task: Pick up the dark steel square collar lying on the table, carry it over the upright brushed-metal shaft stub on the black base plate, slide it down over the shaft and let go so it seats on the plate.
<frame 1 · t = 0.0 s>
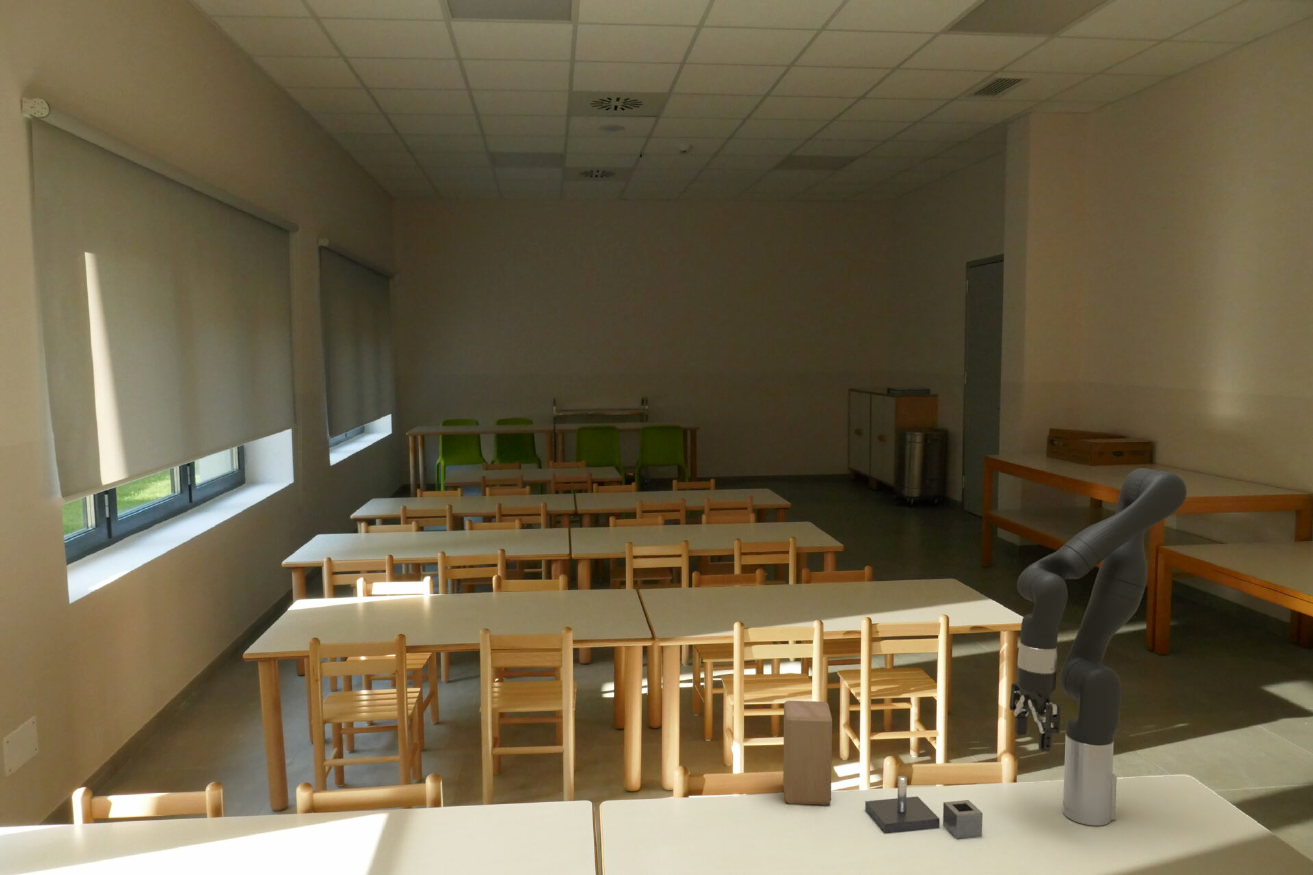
hand: (1032, 742, 194), 17 cm above the table, tool pointing down, fingers open, 8 cm apart
shaft block: (901, 818, 197), on the table
collar: (962, 830, 192), on the table
wooden block: (806, 795, 208), on the table
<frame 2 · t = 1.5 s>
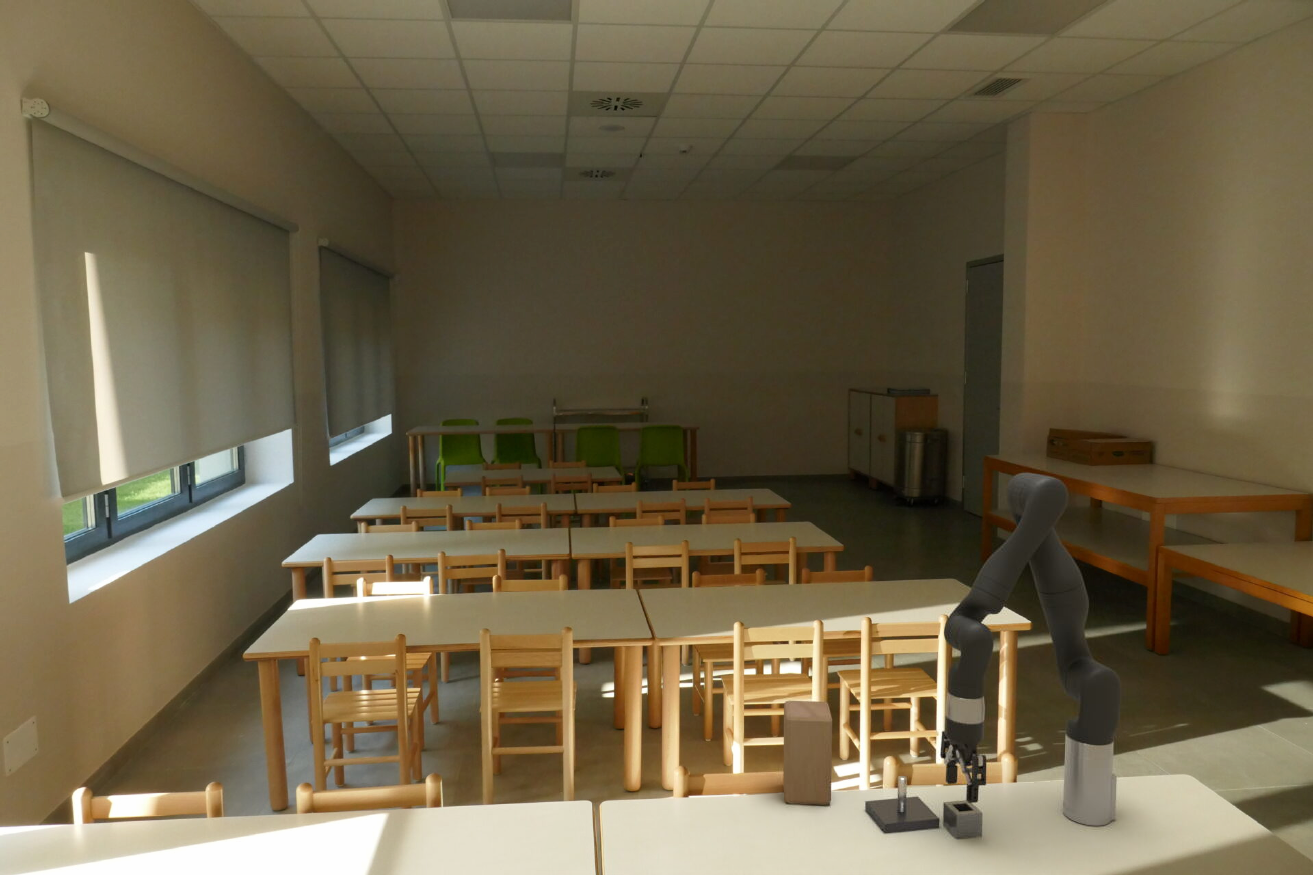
hand: (961, 792, 191), 8 cm above the table, tool pointing down, fingers open, 8 cm apart
nothing on the table moved.
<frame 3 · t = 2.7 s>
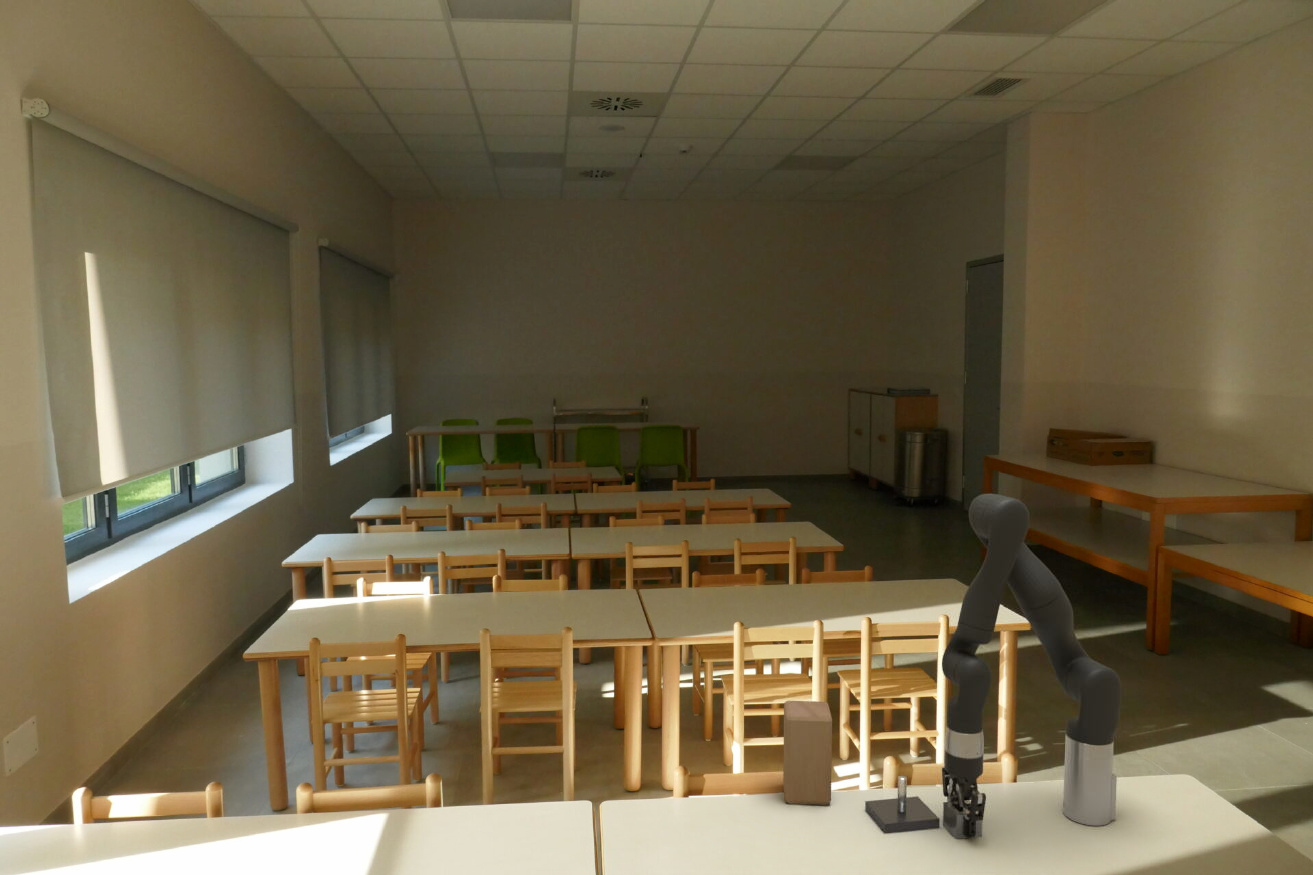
hand: (961, 828, 192), 1 cm above the table, tool pointing down, fingers closed on collar, 5 cm apart
collar: (962, 830, 192), on the table, touching gripper
everything else where it was.
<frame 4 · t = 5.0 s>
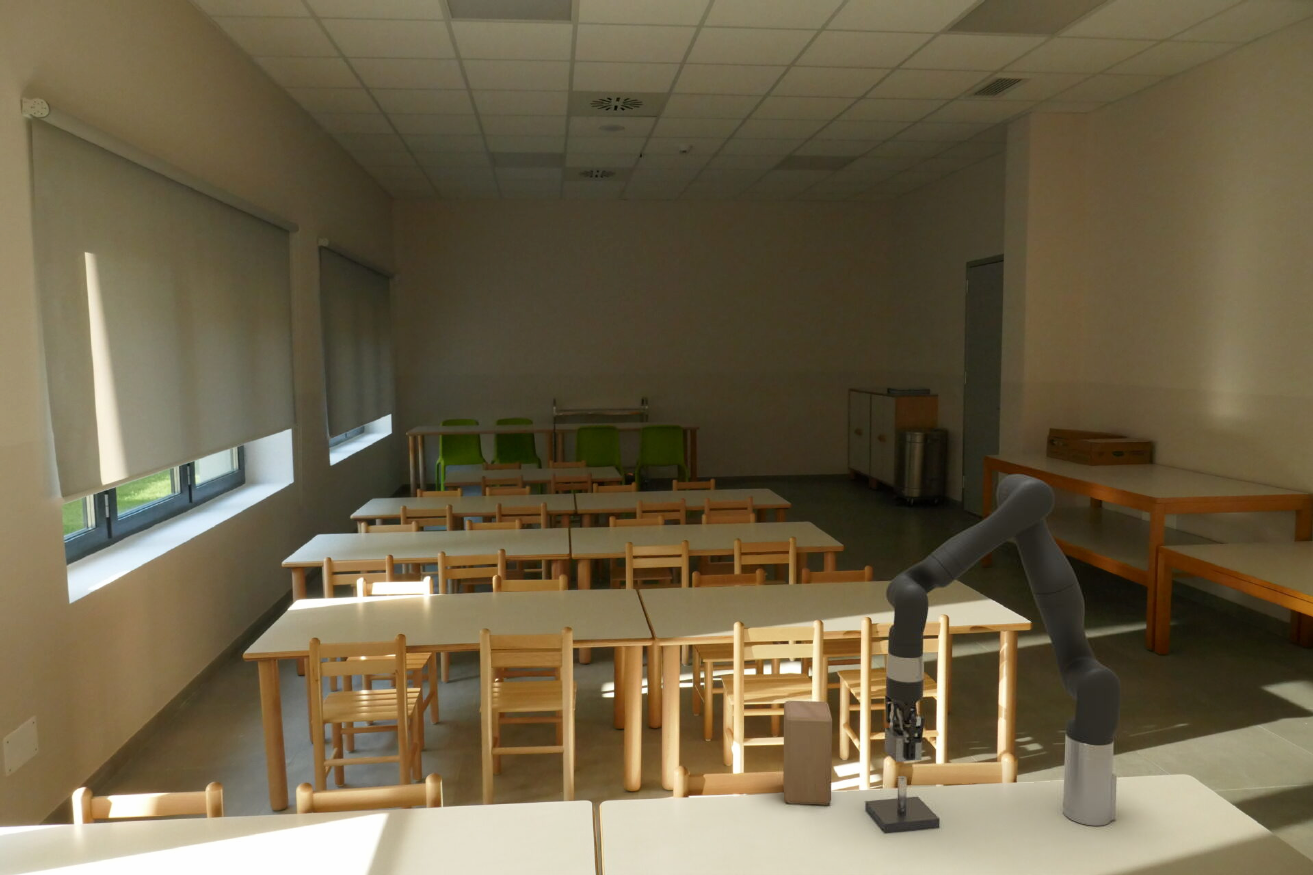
hand: (902, 752, 196), 14 cm above the table, tool pointing down, fingers closed on collar, 5 cm apart
collar: (902, 755, 196), point 14 cm above the table, touching gripper
everything else where it was.
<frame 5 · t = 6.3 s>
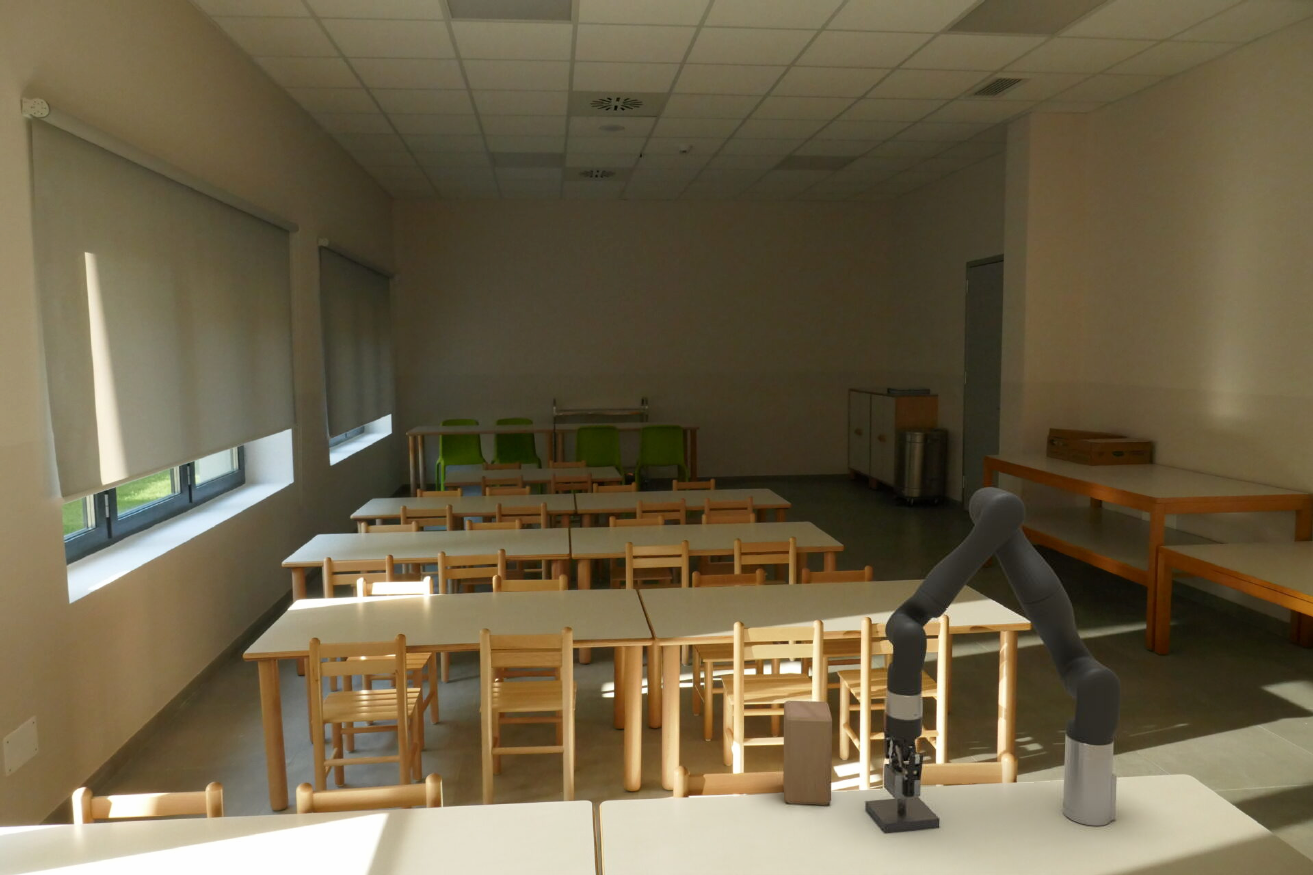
hand: (901, 788, 196), 7 cm above the table, tool pointing down, fingers closed on collar, 5 cm apart
collar: (901, 791, 196), point 6 cm above the table, touching gripper
everything else where it was.
when the fingers open (4 cm above the table, at t = 7.3 s): collar drops 1 cm, resting on shaft block.
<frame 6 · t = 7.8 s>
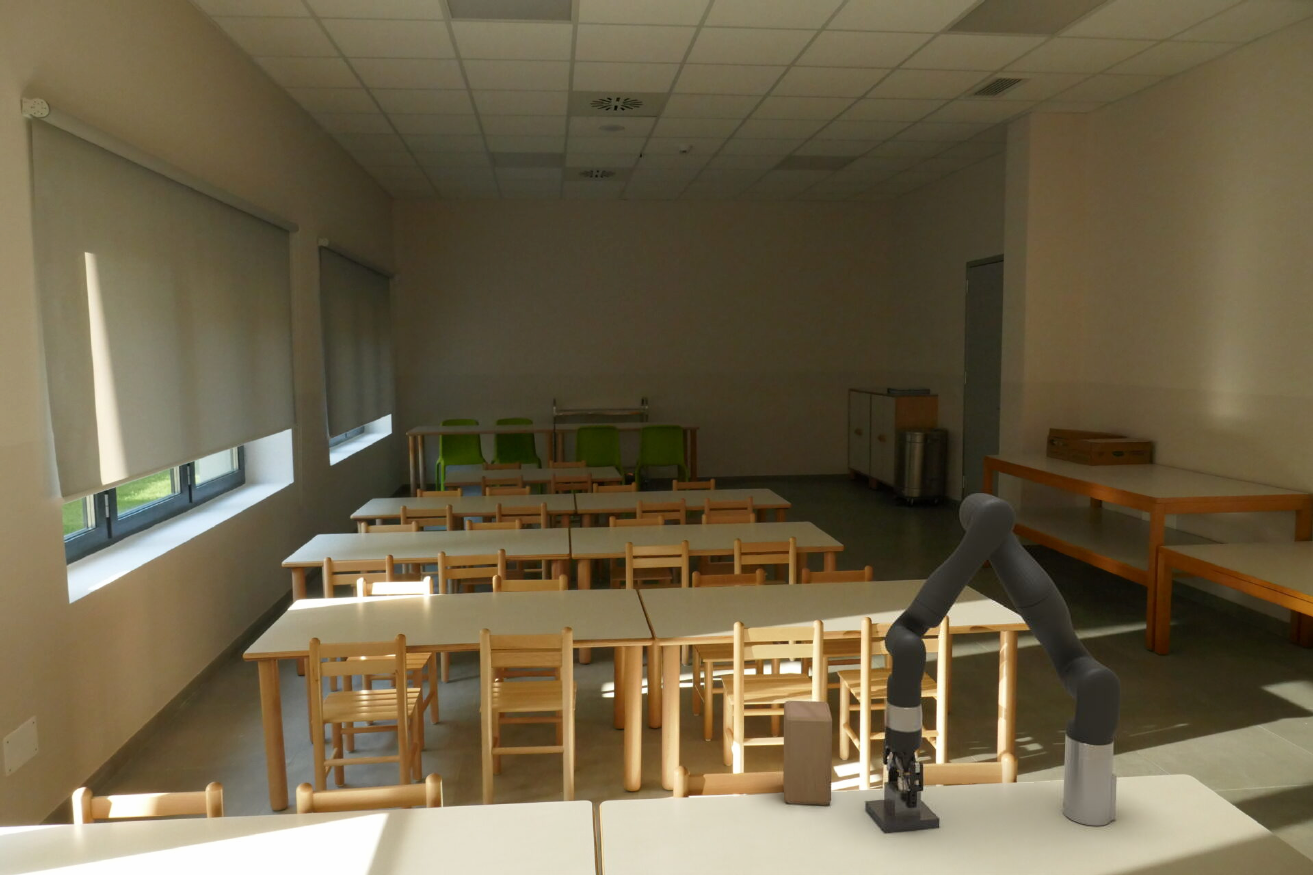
hand: (902, 797, 196), 5 cm above the table, tool pointing down, fingers open, 8 cm apart
collar: (902, 809, 197), point 2 cm above the table, touching shaft block
everything else where it was.
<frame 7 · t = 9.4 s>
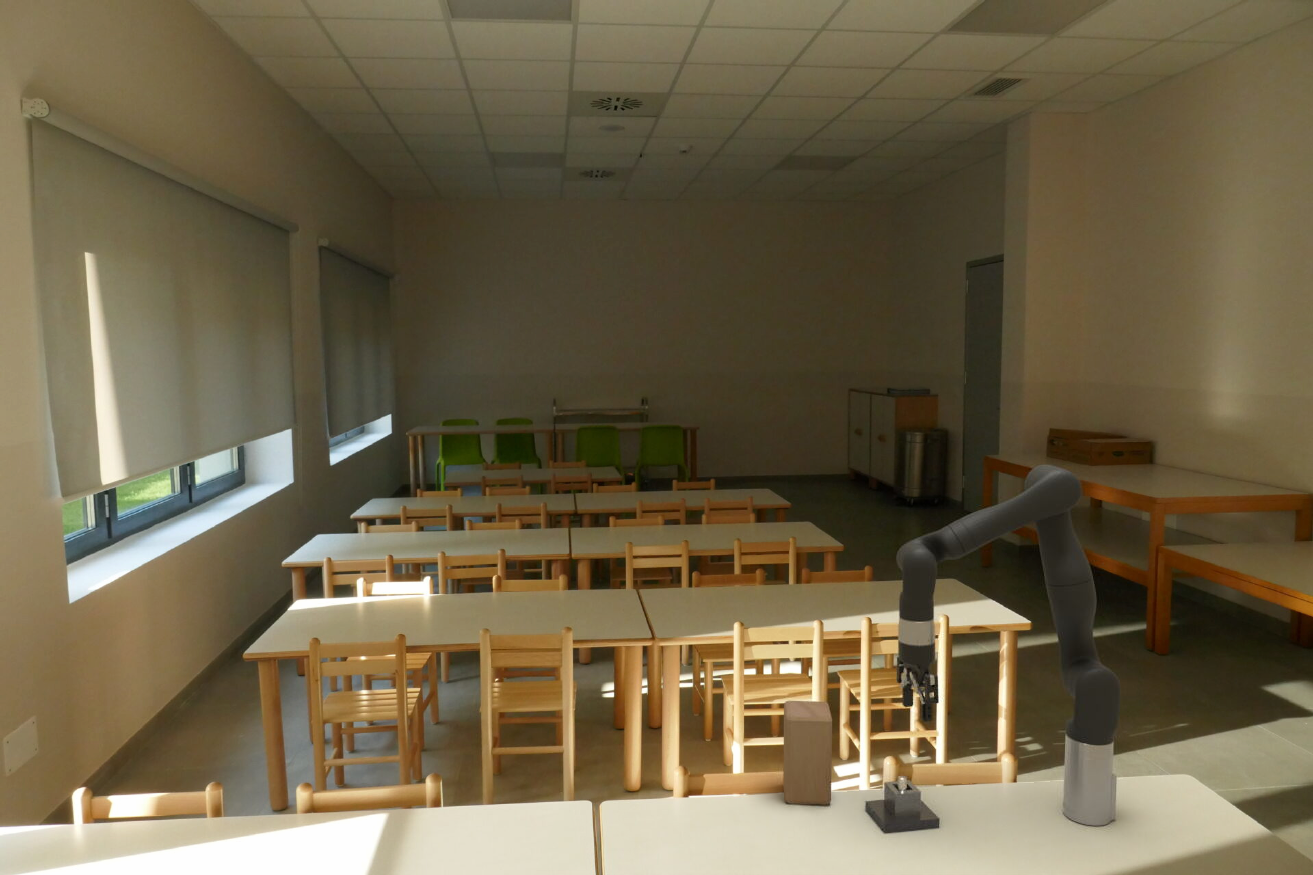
hand: (917, 713, 198), 22 cm above the table, tool pointing down, fingers open, 8 cm apart
nothing on the table moved.
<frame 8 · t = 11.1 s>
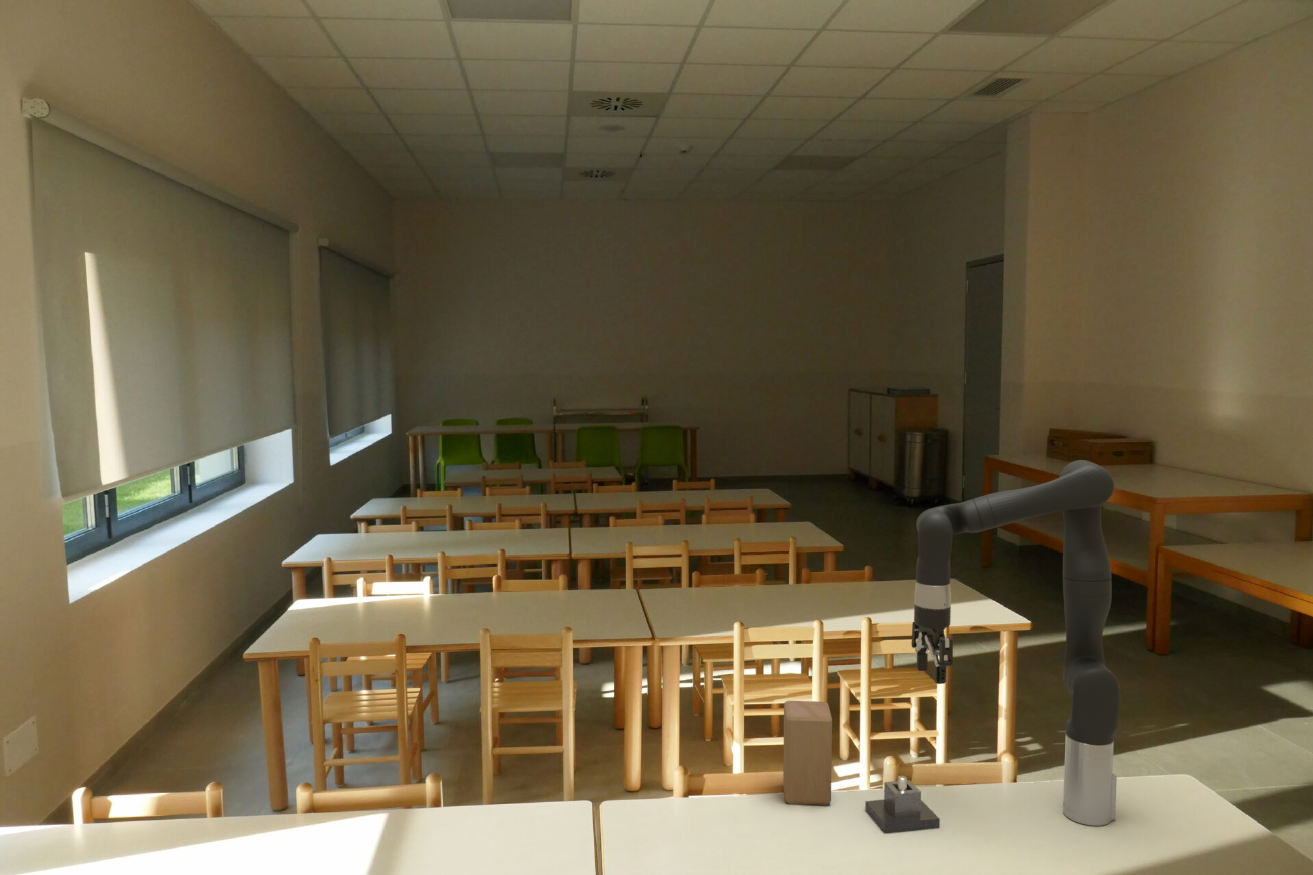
hand: (930, 676, 202), 28 cm above the table, tool pointing down, fingers open, 8 cm apart
nothing on the table moved.
at the end: collar 0.1 cm off-centre on the shaft block, point 2.0 cm above the shaft block's base; the gripper is holding nothing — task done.
